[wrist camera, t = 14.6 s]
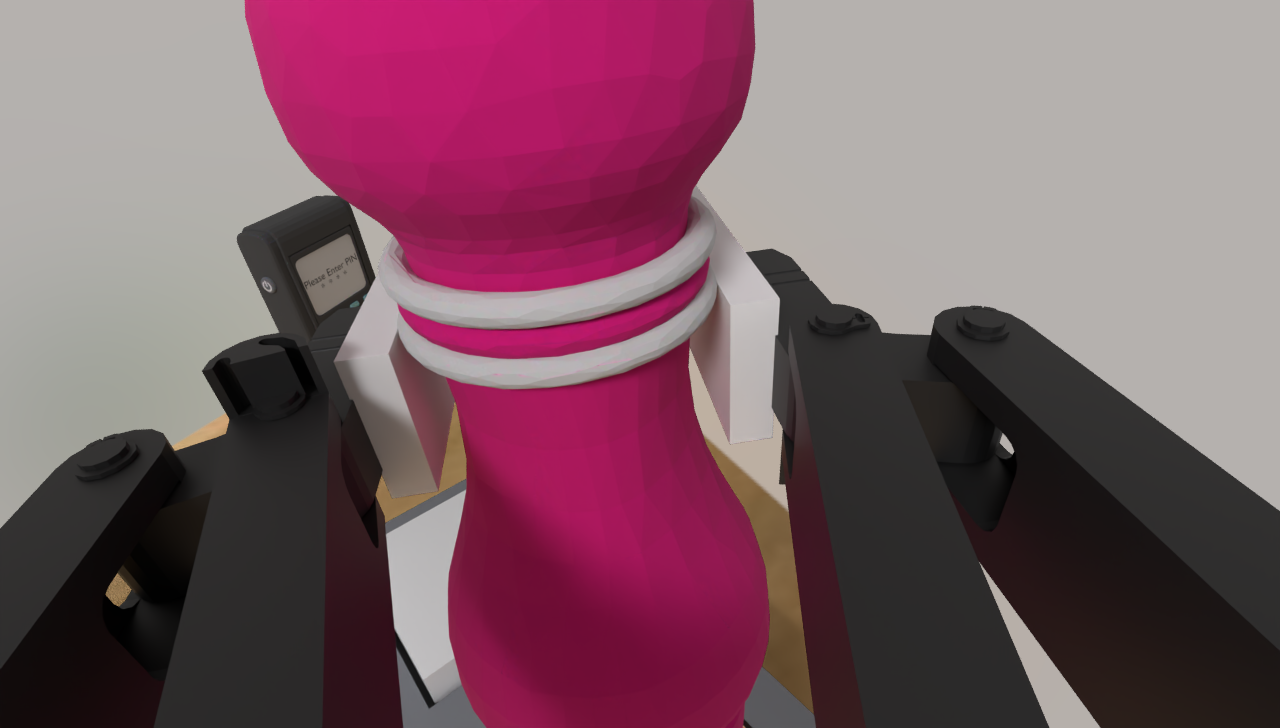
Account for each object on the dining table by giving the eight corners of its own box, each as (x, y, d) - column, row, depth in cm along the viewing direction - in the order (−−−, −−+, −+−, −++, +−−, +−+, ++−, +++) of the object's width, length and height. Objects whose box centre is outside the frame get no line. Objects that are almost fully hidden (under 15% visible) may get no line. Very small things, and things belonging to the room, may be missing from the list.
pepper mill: (799, 642, 18) (923, -441, 7) (692, 938, 12) (423, -1697, 1) (590, 553, 21) (434, -273, 10) (436, 760, 16) (-255, -478, 5)
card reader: (336, 398, 53) (264, 235, 45) (301, 391, 55) (225, 231, 46) (403, 343, 60) (352, 194, 52) (371, 338, 62) (315, 192, 53)
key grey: (441, 716, 27) (423, 679, 26) (372, 588, 33) (353, 552, 32) (602, 596, 32) (596, 558, 30) (516, 503, 38) (506, 467, 36)
